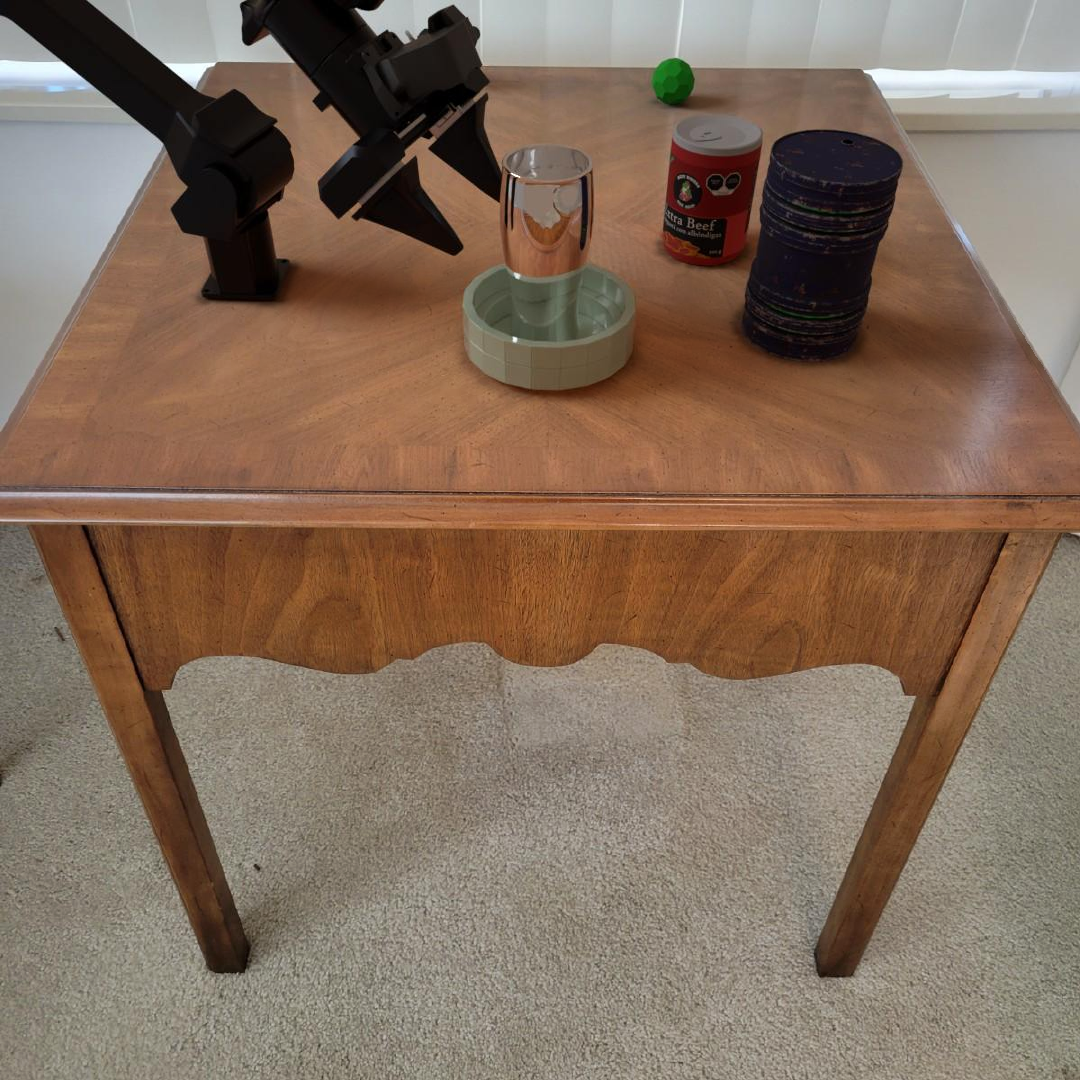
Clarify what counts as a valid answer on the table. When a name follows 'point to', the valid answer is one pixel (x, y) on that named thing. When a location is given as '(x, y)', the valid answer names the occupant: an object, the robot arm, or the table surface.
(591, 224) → the beer glass
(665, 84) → the polyhedron
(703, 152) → the canned food
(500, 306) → the bowl
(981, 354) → the table surface
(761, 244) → the dark blue cylinder
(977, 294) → the table surface
